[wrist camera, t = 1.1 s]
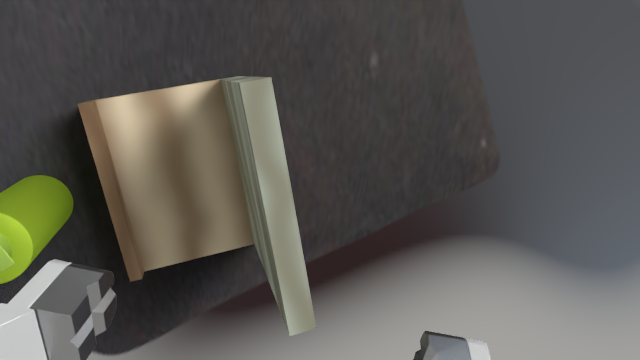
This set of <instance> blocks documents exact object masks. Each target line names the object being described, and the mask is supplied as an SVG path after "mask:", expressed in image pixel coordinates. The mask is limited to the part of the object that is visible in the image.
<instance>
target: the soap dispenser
mask: <svg viewBox="0 0 640 360" xmlns="http://www.w3.org/2000/svg"><path fill="white" fill-rule="evenodd" d="M72 211H73V197H72V195H71V192H70V191H69V189H68V188H67V187H66V186H65V185H64V184H63V183H62V182H61V181H59V180H57V179H55V178H53V177H50V176H45V175H34V176H29V177H26V178H24V179H22V180H20V181H19V182H17V183H16V184H14V185H12V186H11V187H9V188H8V189H6V190H4V191H3V192H1V193H0V284H1V283H5V282H8V281H11V280H13V279H15V278H16V277H18V276H19V275H20V274H22V273H23V272H24V271H25V270H26V268H27V267H28V266H29V265H30V264H31V262H32V261H33V260H34V259H35V258H36V257H37V255H38V254H39V253H40V252H41V251H42V250H43V248H44V247H45V246H46V245H47V244H48V242H49V241H50V240H51V239H52V238H53V237H54V235H55V234H56V233H57V232H58V231H59V229H60V228H61V227H62V226H63V225H64V224H65V222H66V221H67V220H68V219H69V217H70V216H71V214H72Z"/></svg>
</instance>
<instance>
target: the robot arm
mask: <svg viewBox="0 0 640 360" xmlns="http://www.w3.org/2000/svg"><path fill="white" fill-rule="evenodd" d="M113 283H114V276H113V272H111V271H108V270H103V269H99V268H94V267H90V266H85V265H81V264H76V263H70V262H65V261H61V260H56V259H54V260H51V261H49V262H47V263H46V264H45V265H44V266H43V268H42V269H41V270H40V271H39V272H38V273H37V274H36V275H35V276H34V277H33V278H32V279H31V280H30V281H29V282H28V283H27V284H26V285H25V286H24V287H23V288H22V289H21V290H20V291H19V292H18V293H17V294H16V295H15V297H14V298H13V299H12V300H11V301H10V302H9V303H8V304H3V303H1V304H0V360H86V359H87V358H88V356H89V355H90V353H91V352H92V350H93V349H94V347H95V346H96V338H95V336H96V335H98V334H100V333H102V332H104V331H105V330H106V329H107V328H108V326H109V325H110V323H111V321H112V319H113V316H114V314H115V311H116V305H117V298H116V294H115V292H114V291H113V290H112V289H111V288H110V287H111V286H112V285H113ZM420 345H421V350H419V351H417V352H416V353H415V356H414V359H413V360H491V358H490V354H489V350H488V346H487V344H486V343H485V342H483V341H478V340H472V339H467V338H462V337H457V336H451V335H446V334H440V333H435V332H429V331H425V332H424V333H423V335H422V337H421V340H420Z"/></svg>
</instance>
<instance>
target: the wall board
mask: <svg viewBox="0 0 640 360" xmlns="http://www.w3.org/2000/svg"><path fill="white" fill-rule="evenodd" d="M78 107H79V111H80V114H81V117H82V121H83V124H84V127H85V131H86V134H87V138H88V141H89V144H90V148H91V151H92V155H93V158H94V161H95V165H96V168H97V172H98V175H99V178H100V182H101V185H102V188H103V192H104V195H105V199H106V202H107V205H108V209H109V212H110V216H111V219H112V222H113V226H114V229H115V233H116V236H117V239H118V243H119V246H120V249H121V253H122V256H123V260H124V263H125V266H126V270H127V273H128V277H129V280H130V282H132V281H136V280H140V279H143V274H144V272H145V271H149V270H153V269H157V268H161V267H165V266H169V265H173V264H177V263H181V262H185V261H189V260H193V259H197V258H201V257H205V256H209V255H213V254H217V253H221V252H225V251H229V250H233V249H237V248H241V247H244V246H248V245H252V244H255V246H256V249H257V251H258V254H259V257H260V259H261V262H262V265H263V267H264V270H265V273H266V275H267V278H268V280H269V283H270V286H271V288H272V291H273V294H274V296H275V299H276V301H277V304H278V307H279V309H280V312H281V315H282V317H283V320H284V322H285V325H286V328H287V330H288V333H289V335H290V336H292V335H296V334H299V333H302V332H306V331H309V330H312V329H315V328H316V323H315V318H314V312H313V307H312V301H311V296H310V290H309V285H308V279H307V274H306V268H305V262H304V257H303V251H302V246H301V240H300V234H299V229H298V223H297V218H296V212H295V207H294V201H293V196H292V190H291V185H290V179H289V173H288V168H287V162H286V157H285V151H284V146H283V140H282V135H281V129H280V124H279V118H278V112H277V107H276V101H275V96H274V90H273V85H272V79H271V77H244V76H236V77H230V78H224V79H218V80H212V81H206V82H200V83H194V84H188V85H182V86H176V87H170V88H164V89H158V90H152V91H146V92H140V93H134V94H128V95H122V96H115V97H109V98H103V99H97V100H91V101H87V102H83V103H79V104H78Z"/></svg>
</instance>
